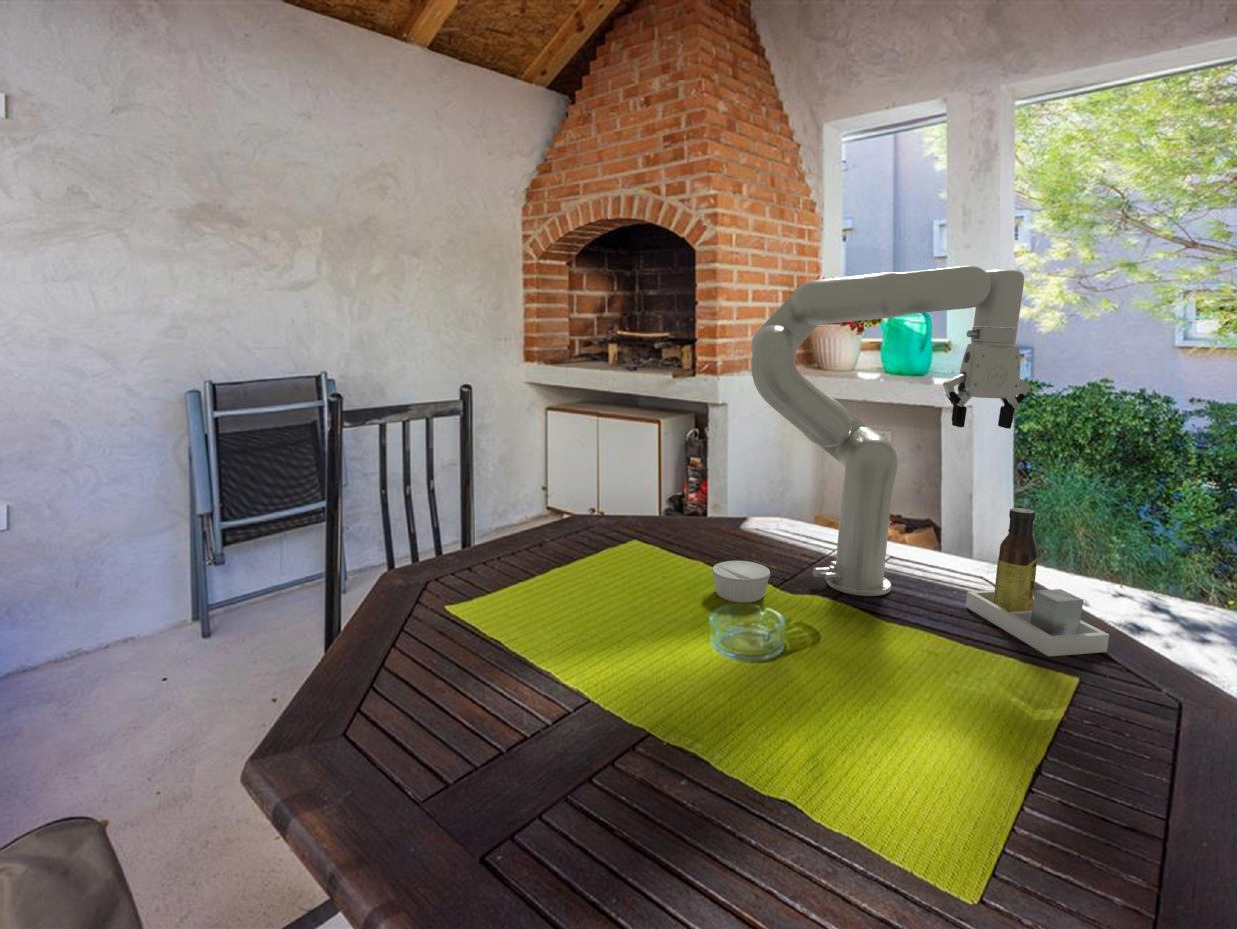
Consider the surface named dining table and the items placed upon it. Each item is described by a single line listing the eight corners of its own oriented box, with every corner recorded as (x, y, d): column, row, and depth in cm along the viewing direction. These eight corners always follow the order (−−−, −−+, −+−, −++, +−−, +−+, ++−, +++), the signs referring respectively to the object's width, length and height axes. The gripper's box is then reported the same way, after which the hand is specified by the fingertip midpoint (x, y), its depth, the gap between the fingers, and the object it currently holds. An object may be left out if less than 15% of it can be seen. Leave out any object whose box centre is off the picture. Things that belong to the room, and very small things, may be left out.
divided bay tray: (1105, 657, 122) (1109, 634, 122) (1047, 661, 120) (1050, 638, 120) (1016, 608, 143) (1018, 588, 142) (964, 611, 141) (967, 591, 140)
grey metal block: (1050, 646, 124) (1057, 601, 122) (1029, 634, 128) (1035, 590, 127) (1076, 644, 125) (1083, 599, 123) (1054, 632, 129) (1060, 589, 128)
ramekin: (704, 599, 144) (705, 573, 143) (719, 581, 154) (720, 557, 153) (762, 609, 140) (763, 582, 139) (773, 589, 150) (775, 564, 149)
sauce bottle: (1035, 624, 132) (1049, 516, 128) (997, 621, 134) (1010, 514, 130) (1023, 610, 139) (1036, 507, 135) (987, 607, 140) (999, 505, 136)
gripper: (962, 336, 136) (950, 429, 139) (1049, 340, 138) (1035, 431, 141) (940, 335, 143) (929, 423, 147) (1023, 338, 145) (1010, 425, 149)
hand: (981, 426), depth 144 cm, fingers open, 9 cm apart
